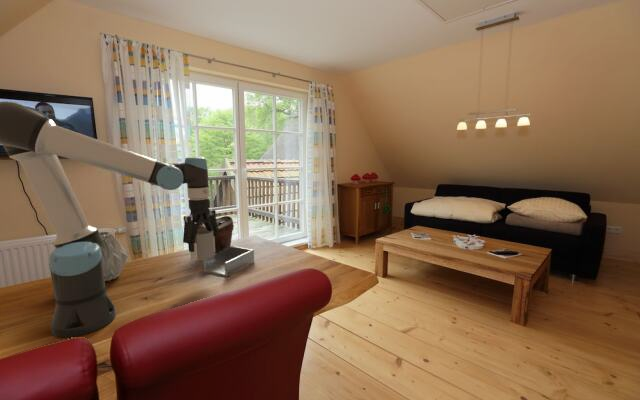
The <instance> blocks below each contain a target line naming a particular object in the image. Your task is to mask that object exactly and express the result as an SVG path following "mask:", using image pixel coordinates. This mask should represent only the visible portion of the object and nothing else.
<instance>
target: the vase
mask: <svg viewBox="0 0 640 400" xmlns="http://www.w3.org/2000/svg"><path fill="white" fill-rule="evenodd" d="M99 234H100V236H101V237H102V238H103V239H104V240H105V241H106V242H107V244H108V247H109V257H108V259H107V261H106V264H105V266H104V269H103V272H104V280H105V282H108V281H110V282H111V280H116V279H117V278H119V277H120V275H121V272H122V271H124V268H125V266H126V263H127V260H128V258H129V254H130V253H129V252H128V250H127V249H126V248H125V247H123V246H122V244H121V242H120V240H119V239H118V238H116V237H115V235H114V234H113V233H112V232H111V231H101V232H99Z"/></svg>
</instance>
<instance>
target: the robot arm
mask: <svg viewBox="0 0 640 400" xmlns="http://www.w3.org/2000/svg"><path fill="white" fill-rule="evenodd" d="M0 145H2V146H3V148H4V150H5V152H6V154H7V155H8V157H9V158H10V159H13V161H17V162H19V164H20V166H21V168H22V169H23V172H24V174H25V176H26V178H27V180H28V182H29V183H30V185H31V189H32V190H33V191H34V194H35V196H36V197H37V199H38V201H39V203H40V205H41V207H42V209H43V212H44V213H45V215H46V217H47V220H48V221H49V223H50V225H51V227H52V228H53V231H54V233H55V235H56V238H55V239H54V241H53V245H54V247H55V248H54V250H53V251H51V253H50V254H49V257H48V259H49V260H48V261H49V262H48V267H49V270H50V276H51V281H52V282H51V283H52V288H53V294H54V300H55V308H54V311H53V315H52V319H51V324H50V329H51V334H52V336H54V337H56V338H74V337H75V338H76V337H80V336H84V335H87V334H91V333H94V332H95V331H98V330H100V329H102V328H104V327H105V326H108V325H109V324H110V323H111V322H113V320H114V319H115V318H116V315H117V313H116V307H115V305H114V303H113V302H112V300H111V298H110V297H109V295H108V293H107V288H106V283H105V282H106V281H105V280H104V272H103V269H104V266H105V264H106V261H107V259H108V257H109V247H108V244H107V242H106V241H105V240H104V239H103V238H102V237H101V236H100V234H99V233H100V232H99V229H98V228H97V227H95V226H92V225H90V223H89V221H88V219H87V217H86V215H85V213H84V209H82V206H81V204H80V202H79V200H78V197H77V195H76V193H75V191H74V189H73V188H72V185H71V183H70V180H69V179H68V177H67V174H66V172H65V170H64V168H63V165H62V163H61V162H60V161H61V160H60V159H59V157H58V156H60V157H63V158H65V159H69V160H73V161H76V162H78V163H81V164H85V165H89V166H93V167H96V168H99V169H102V170H105V171H109V172H112V173H115V174H119V175H122V176H125V177H129V178H132V179H135V180H139V181H141V182H145V183H149V184H150V185H151V186H158V187H160V188H162V189H164V190H167V191H173V190H178V188H180V187H181V186H182V185H183V184H186V186H187V190H186V191H187V198H188V208H189V210H190V212H189V215H185V216H183V223H184V224H183V237H182V243H183V244H188V251H189V252H190V253H189V254H190V259H191V260H194V261H199V260H198V257H197V244H196V243H194V242H195V238H196V234H197V231H198V227H199V226H200V223H202V222H203V223H204V225H205V227H206V229H207V230H209V231H211V229H212V230H213V237H214V252H215V236H217V234H216V233H219V229H218V225H217V220H216V219H217V217H216V209H210V208H211V200H210V198H209V197H210V186H209V168H208V162H207V159H206V157H200V156H197V157H195V156H193V157H185V159H184V162H180V163H174V162H173V163H166V162H163V161H161V160H160V161H159V160H158V159H154V158H151V157H150V156H145V155H142V154H140V153H137V152H134V151H131V150H128V149H127V148H126V149H125V148H123V147H120V146H117V145H114V144H113V143H108V142H106V141H102V140H100V139H96V138H94V137H91V136H88V135H85V134H83V133H80V132H76V131H73V130H72V129H68V128H65V127H62V126H59V125H57V124H56V123H55V121H54V120H53V119H51V118H49V117H48V116H47V115H46V114H44V113H43V112H42V111H40V110H38V109H36V108H34V107H31V106H27V105H23V104H20V103H18V102H14V101H0Z"/></svg>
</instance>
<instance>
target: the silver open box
mask: <svg viewBox="0 0 640 400" xmlns="http://www.w3.org/2000/svg"><path fill="white" fill-rule="evenodd" d="M202 261H203V273H207V274H213V275H216V276H221V277H225V278H229V277H230V276H232V275H234V274H235V273H237V272H239V271H241V270H243V269H244V268H246V267H248V266H250V265H252V264H253V263H255V249H252V248H247V247H241V246H233V245H232V246H230V247H229V248H226V249H224V250H222V251H219V252H217V253H215V256H214V257H212V258H210V259H206V260H202Z"/></svg>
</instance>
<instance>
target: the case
mask: <svg viewBox="0 0 640 400" xmlns="http://www.w3.org/2000/svg"><path fill="white" fill-rule="evenodd" d="M216 220H217V225H218V229H219V233H216V234H217V236H215V253H217V252H219V251H222V250H224V249H226V248H229V247H231V244H232V240H233V239H232V238H233V231H234V227H235V226H234V225H235V224H234V219H233V218H232V217H231V216H230V215H226V216H221V217H219V218H216ZM198 229H206V227H205V225H204V223H203V222H202V223H200V226H199V227H198Z"/></svg>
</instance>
